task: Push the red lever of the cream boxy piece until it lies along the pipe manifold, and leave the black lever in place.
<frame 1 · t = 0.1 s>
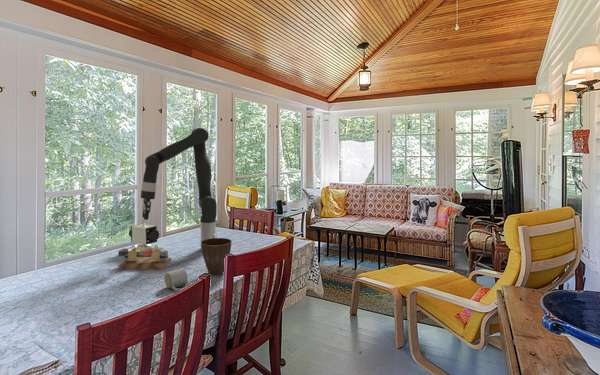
hand: (145, 218, 194), 22 cm above the table, tool pointing down, fingers open, 8 cm apart
red lever: (152, 249, 173), point 10 cm above the table, hinge at 0.0°
pipe manifold: (145, 255, 180), on the base board, point 6 cm above the table
plant pot: (216, 273, 169), on the table
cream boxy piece: (145, 252, 205), on the table
ceramic mug: (178, 288, 150), on the table
base board: (146, 265, 180), on the table
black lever: (128, 249, 173), point 10 cm above the table, hinge at 0.0°
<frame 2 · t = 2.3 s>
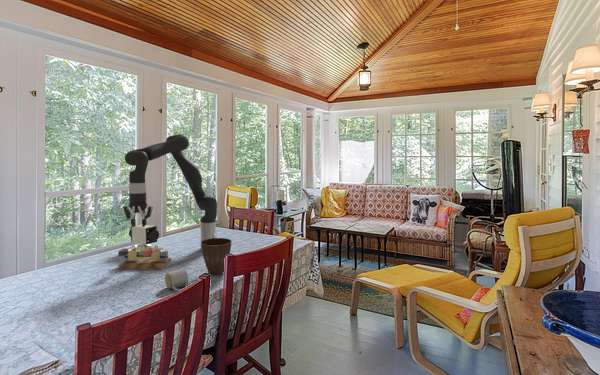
hand: (138, 226, 167), 23 cm above the table, tool pointing down, fingers open, 4 cm apart
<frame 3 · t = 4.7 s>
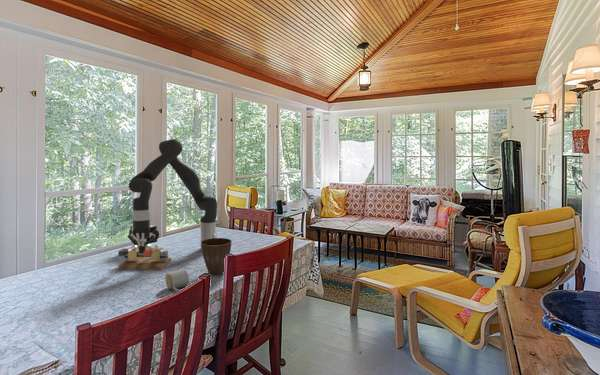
hand: (142, 253, 168), 10 cm above the table, tool pointing down, fingers closed
red lever: (152, 249, 173), point 10 cm above the table, hinge at 0.4°, touching gripper
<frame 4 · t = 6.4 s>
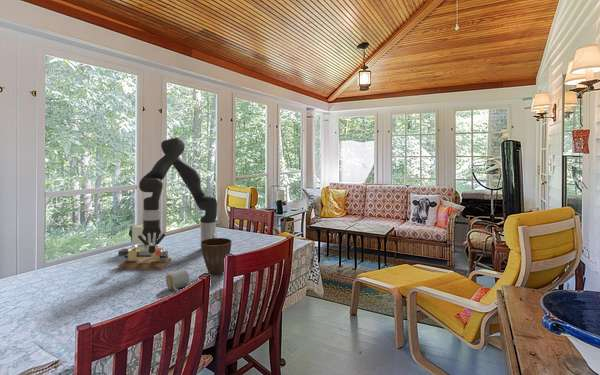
hand: (151, 253, 168), 10 cm above the table, tool pointing down, fingers closed
red lever: (157, 249, 174), point 10 cm above the table, hinge at 23.9°, touching gripper
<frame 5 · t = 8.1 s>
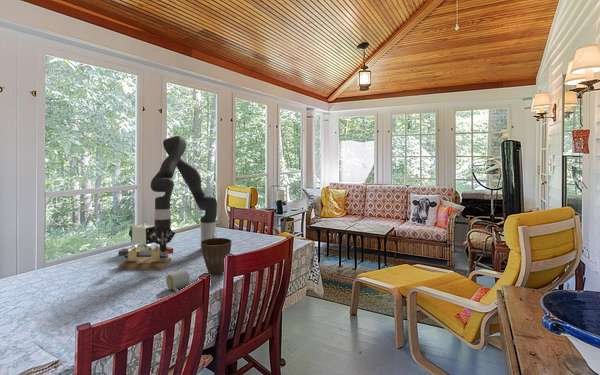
hand: (163, 251, 170), 10 cm above the table, tool pointing down, fingers closed
red lever: (163, 248, 176), point 10 cm above the table, hinge at 49.0°, touching gripper
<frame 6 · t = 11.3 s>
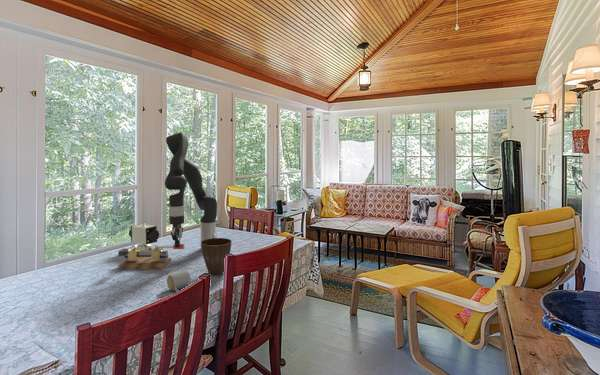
hand: (177, 247, 177), 10 cm above the table, tool pointing down, fingers closed
red lever: (169, 246, 180), point 10 cm above the table, hinge at 90.1°
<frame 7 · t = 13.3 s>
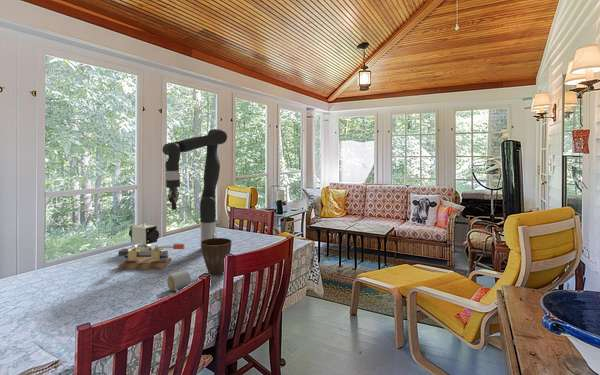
hand: (174, 209, 191), 28 cm above the table, tool pointing down, fingers closed
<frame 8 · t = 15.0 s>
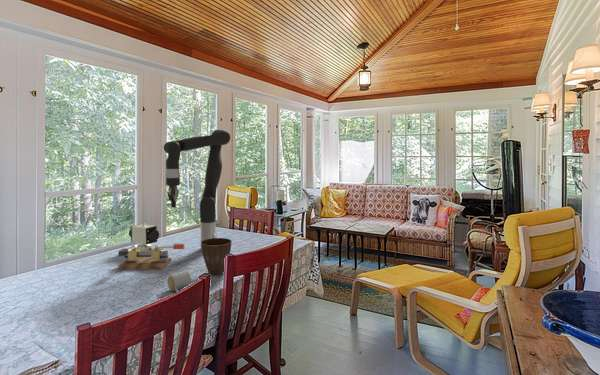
hand: (173, 207, 193), 29 cm above the table, tool pointing down, fingers closed
at the end: red lever at +90° (first picture: +0°); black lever at +0° (first picture: +0°) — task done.
